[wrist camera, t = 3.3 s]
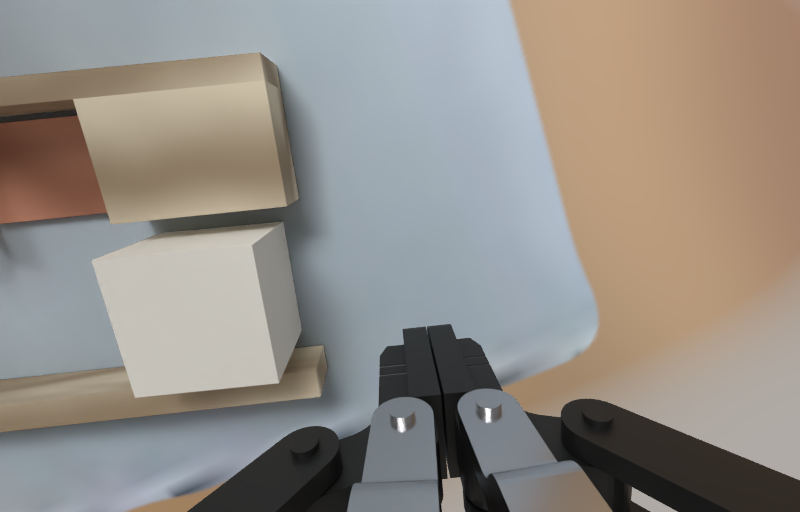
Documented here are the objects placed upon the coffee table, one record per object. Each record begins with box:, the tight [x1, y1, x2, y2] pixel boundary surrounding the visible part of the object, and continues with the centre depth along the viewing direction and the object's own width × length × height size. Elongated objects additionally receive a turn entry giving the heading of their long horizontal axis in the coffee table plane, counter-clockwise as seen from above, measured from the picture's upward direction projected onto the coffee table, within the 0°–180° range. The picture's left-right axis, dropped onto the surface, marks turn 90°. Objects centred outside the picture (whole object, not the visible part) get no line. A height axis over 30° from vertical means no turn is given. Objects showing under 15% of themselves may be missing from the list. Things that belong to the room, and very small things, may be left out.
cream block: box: [91, 221, 302, 398], centre depth 18 cm, size 6×6×5 cm
